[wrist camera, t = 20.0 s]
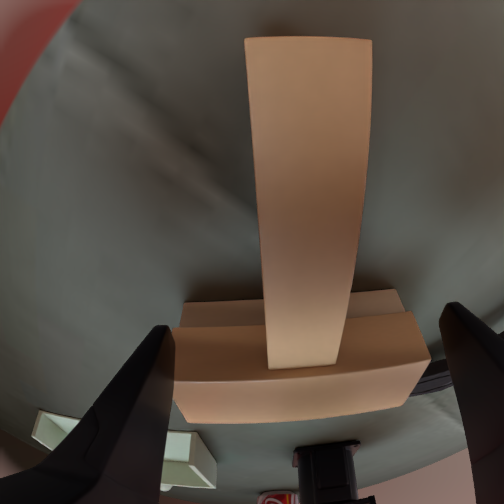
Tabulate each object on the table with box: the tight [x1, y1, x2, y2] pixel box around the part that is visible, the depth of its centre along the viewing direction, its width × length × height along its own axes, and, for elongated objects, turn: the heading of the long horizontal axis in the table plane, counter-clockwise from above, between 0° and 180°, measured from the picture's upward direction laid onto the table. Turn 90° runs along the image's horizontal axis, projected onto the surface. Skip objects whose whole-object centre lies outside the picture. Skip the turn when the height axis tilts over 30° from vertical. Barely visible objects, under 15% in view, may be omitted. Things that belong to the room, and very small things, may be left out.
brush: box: [172, 36, 431, 424], centre depth 10 cm, size 14×10×4 cm
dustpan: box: [32, 410, 217, 491], centre depth 29 cm, size 20×17×3 cm
